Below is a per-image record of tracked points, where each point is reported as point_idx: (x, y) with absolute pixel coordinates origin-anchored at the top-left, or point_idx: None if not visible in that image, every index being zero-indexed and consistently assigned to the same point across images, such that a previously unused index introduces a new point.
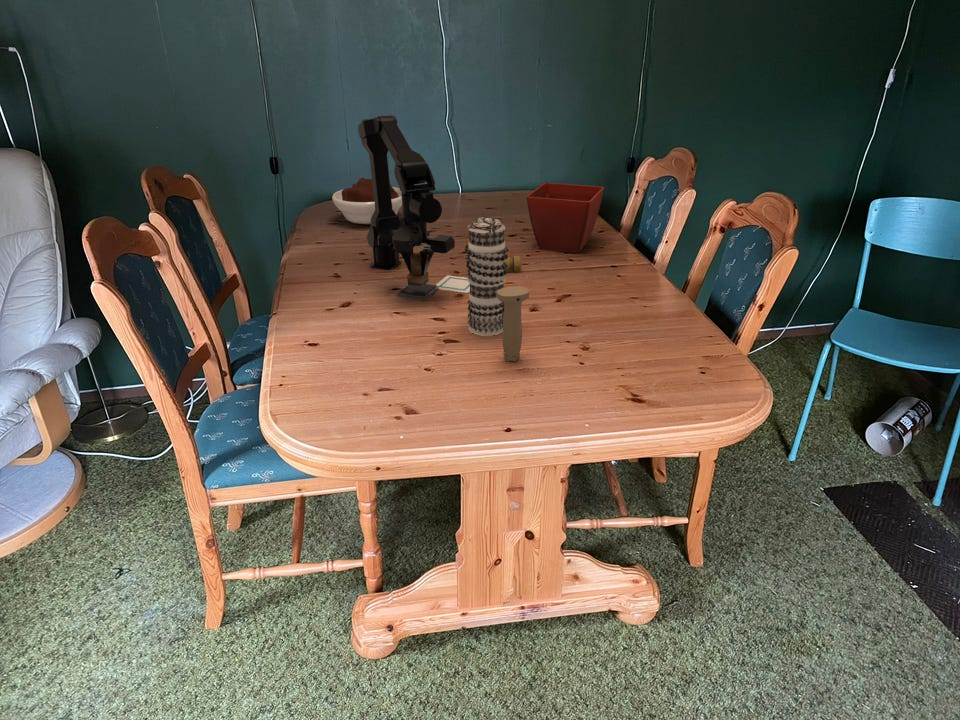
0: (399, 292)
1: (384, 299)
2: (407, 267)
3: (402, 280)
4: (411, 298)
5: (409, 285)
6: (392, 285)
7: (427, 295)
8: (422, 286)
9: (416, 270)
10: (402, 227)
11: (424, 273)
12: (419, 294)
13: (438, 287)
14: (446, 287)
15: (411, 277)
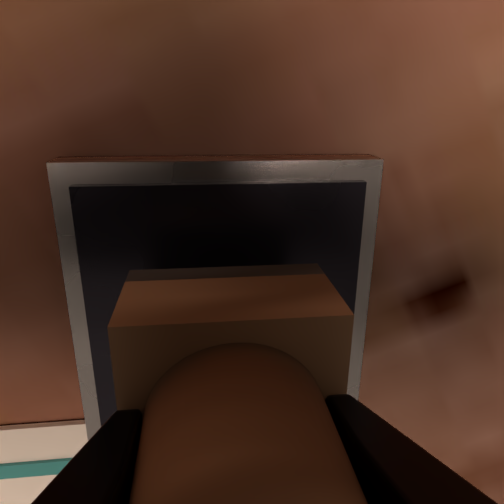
0: (365, 176)
1: (463, 42)
2: (411, 442)
3: (448, 453)
4: (222, 156)
5: None
6: (490, 351)
7: (54, 208)
8: None
9: (208, 409)
10: None
11: (107, 435)
12: (136, 186)
13: (89, 426)
14: (46, 463)
15: (277, 306)
